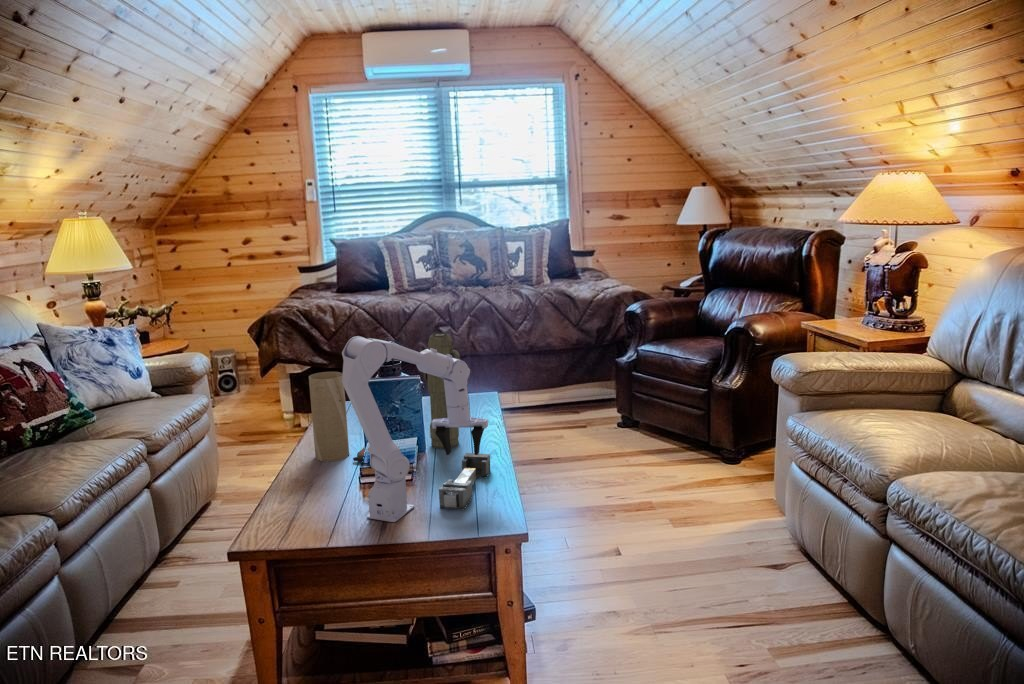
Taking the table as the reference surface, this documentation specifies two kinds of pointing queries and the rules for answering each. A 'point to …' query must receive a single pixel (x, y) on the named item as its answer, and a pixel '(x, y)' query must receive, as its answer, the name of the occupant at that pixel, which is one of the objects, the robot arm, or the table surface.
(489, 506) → the table surface
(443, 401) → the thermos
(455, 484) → the sleeve
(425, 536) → the table surface
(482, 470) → the socket
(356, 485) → the table surface
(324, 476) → the table surface
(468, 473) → the rod
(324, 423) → the tube
